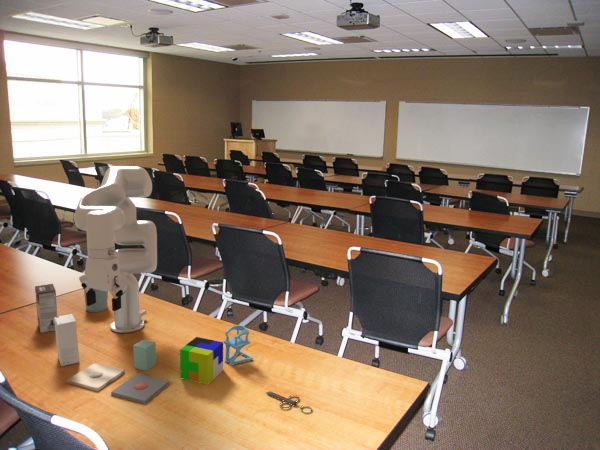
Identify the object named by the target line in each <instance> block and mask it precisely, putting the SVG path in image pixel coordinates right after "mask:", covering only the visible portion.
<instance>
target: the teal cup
mask: <svg viewBox="0 0 600 450" xmlns="http://www.w3.org/2000/svg"><path fill="white" fill-rule="evenodd" d="M93 291H95V292H96V303H95V304H92V305H90V306H87V301H86V293H85V292H84V291H83V292H84V303H85V310H86V311H87V312H89V313H98V312H104V311H105V310H107V309H108V299H109V298H108V297H109V292H108V291H102V290H97V289H94V290H93Z"/></svg>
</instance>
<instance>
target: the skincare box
mask: <svg viewBox="0 0 600 450" xmlns="http://www.w3.org/2000/svg"><path fill="white" fill-rule="evenodd" d="M54 322H55V330H54V332H55V339H56V340H55V341H56V350H57V352H56V354H57V358H58V361H59V364H60V366H61V367H64V366H68V365H75V364H79V363H80V361H81V360H80V354H79V353H80V352H79V343H78V333H77V321H76V319H75V317H74V315H73V313H70V314H64V315H59V316H58V315H57V317H54Z"/></svg>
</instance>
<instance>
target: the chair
mask: <svg viewBox="0 0 600 450" xmlns="http://www.w3.org/2000/svg"><path fill="white" fill-rule="evenodd" d="M233 330H235V331H236V335H235V336H233V337H231V338H230V337H229V335H228V334H229V333H230V332H231V331H233ZM224 334H225V337H226V339H225V340H223V345H224V344H225V357H224V363H226V364H227V363H229V366H234V365H237V364H236V363H239V364H241V363H240V362H243V363H246V362H245V361H248V362H250V361H249V360H252V359H254V358H253V356H251V355H249V354H247V353H245V352H243V351H241V350H242V349H243V348H244V347H246V346H248V345H251V340H249V339H248V338H249V334H250V330H249V329H248V328H247V327H245V326H244V325H233V326H230V327H229V328H228V329H227V330H226V331H224ZM244 335H245V337H244V338H243V337H242V336H244ZM231 348H232V349H235V351H234V353H232V355H230V351H231ZM238 353H240V354H238ZM241 354H242V355H241ZM238 355H241V356H243V355H244V356H243V357H245V356H246V357H245V358H241V359H237V356H238ZM247 357H248V358H247ZM236 359H237V360H236ZM228 361H229V362H228ZM252 361H253V360H252ZM233 364H234V365H233Z"/></svg>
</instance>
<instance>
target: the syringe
mask: <svg viewBox="0 0 600 450" xmlns="http://www.w3.org/2000/svg"><path fill="white" fill-rule="evenodd" d="M263 392H265V394H267V393H268V394H267V395H268V396H269V395H270V396H269V397H271V396H273V397H276V398H279V399H281V400H284V402H288V403H290V404H289V406H285V407H284V406H282V404H284V403H283V401H281V400H280V401H281V402H280V403H279V407H280V406H281V407H282V408H289V407H290V406H291V407H292V405H295V404H296V403H297V404H298V402H296V401H297V400H299V401H300V396H298V395H296V394H295V395H296V396H298V398H299V399H298V398H297V400H293V399H290V398H291V397H290V396H291V395H289V396H288V398H287V397H284V396H283V395H281V394H278V393H276V392H273V391H265V390H263ZM273 397H272V398H273ZM289 397H290V398H289ZM276 398H275V399H276ZM281 403H282V404H281ZM288 403H287V404H288ZM280 404H281V405H280ZM291 404H292V405H291ZM295 406H296V405H295ZM300 406H301V407H302V406H303V405H300ZM281 407H280V408H281ZM291 407H290V408H291ZM301 407H300V409H302V408H303V407H302V408H301ZM282 408H281V409H282ZM290 408H289V409H290Z"/></svg>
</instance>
